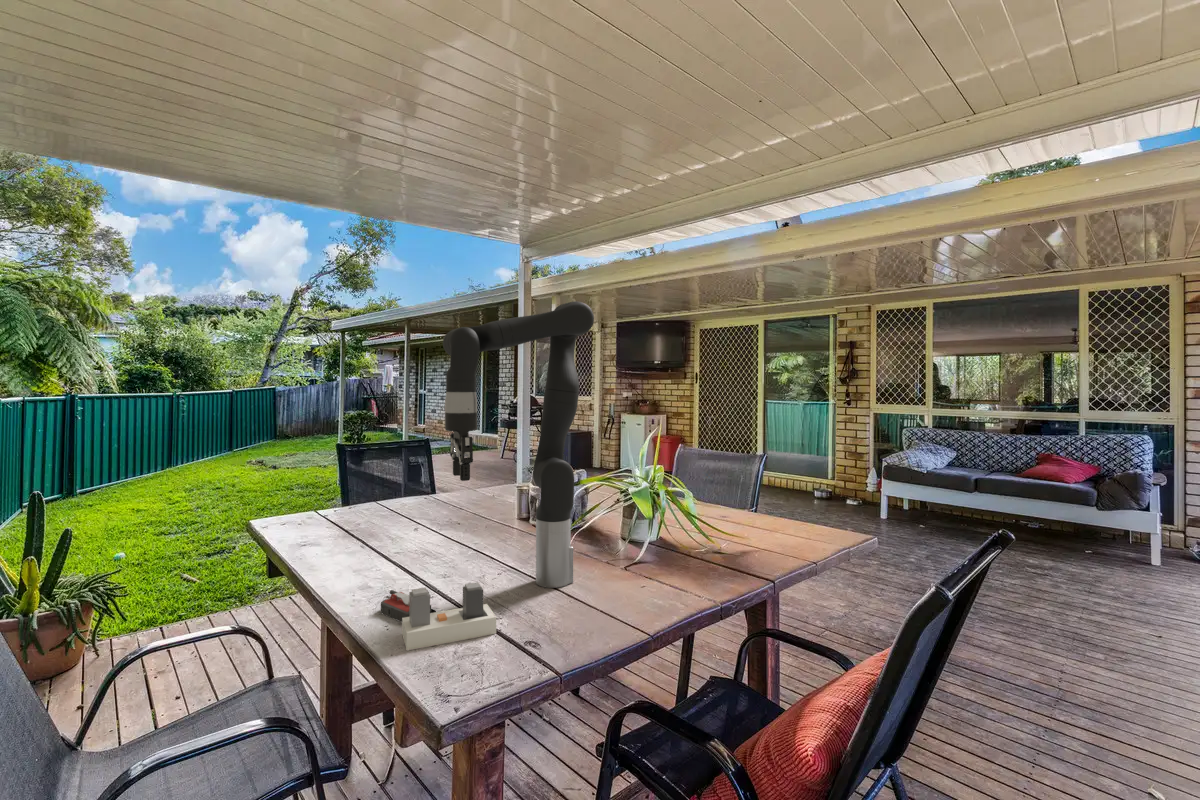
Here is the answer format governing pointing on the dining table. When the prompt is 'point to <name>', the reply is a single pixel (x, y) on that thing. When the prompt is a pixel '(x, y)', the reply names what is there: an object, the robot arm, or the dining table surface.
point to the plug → (472, 601)
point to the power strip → (441, 623)
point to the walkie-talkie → (397, 606)
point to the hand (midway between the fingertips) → (461, 477)
